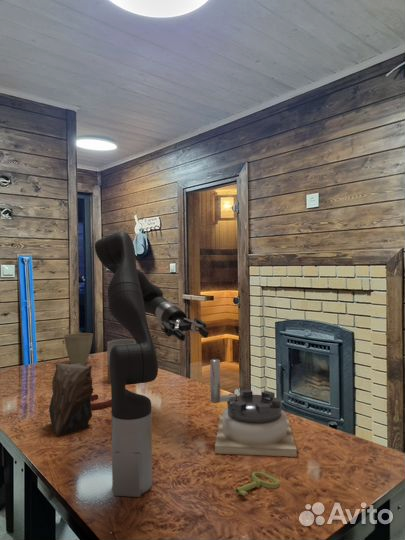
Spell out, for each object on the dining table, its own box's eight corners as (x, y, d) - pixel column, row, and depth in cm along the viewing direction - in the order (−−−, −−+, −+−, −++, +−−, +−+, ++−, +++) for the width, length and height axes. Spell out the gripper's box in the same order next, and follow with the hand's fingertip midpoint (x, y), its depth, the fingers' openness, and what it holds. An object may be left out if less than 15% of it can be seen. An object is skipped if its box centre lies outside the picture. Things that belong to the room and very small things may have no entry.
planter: (139, 382, 177) (138, 343, 177) (110, 386, 172) (109, 345, 172) (133, 375, 189) (132, 338, 189) (105, 378, 184) (105, 340, 184)
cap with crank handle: (284, 424, 109) (283, 364, 109) (209, 422, 112) (209, 363, 112) (279, 404, 125) (279, 352, 125) (214, 402, 128) (213, 351, 128)
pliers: (48, 416, 139) (48, 408, 139) (96, 399, 156) (96, 392, 156) (70, 423, 132) (70, 415, 132) (117, 405, 149) (117, 398, 149)
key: (233, 498, 88) (233, 489, 88) (255, 474, 98) (255, 465, 98) (264, 508, 84) (264, 498, 84) (283, 481, 95) (283, 473, 95)
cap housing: (290, 446, 108) (290, 428, 108) (220, 443, 110) (220, 425, 110) (283, 419, 127) (283, 404, 127) (224, 418, 129) (224, 402, 129)
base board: (296, 456, 106) (296, 449, 106) (215, 453, 109) (214, 446, 109) (288, 424, 128) (288, 418, 128) (220, 422, 131) (220, 416, 131)
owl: (48, 423, 131) (47, 363, 131) (87, 416, 137) (86, 358, 137) (54, 437, 120) (53, 371, 120) (96, 428, 126) (95, 366, 126)
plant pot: (96, 365, 210) (96, 335, 210) (68, 369, 202) (67, 338, 202) (88, 360, 222) (88, 331, 222) (61, 363, 215) (61, 334, 215)
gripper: (153, 307, 130) (177, 328, 117) (189, 304, 138) (216, 323, 125) (150, 328, 132) (174, 350, 119) (186, 323, 140) (212, 344, 127)
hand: (195, 336), depth 122 cm, fingers open, 8 cm apart
